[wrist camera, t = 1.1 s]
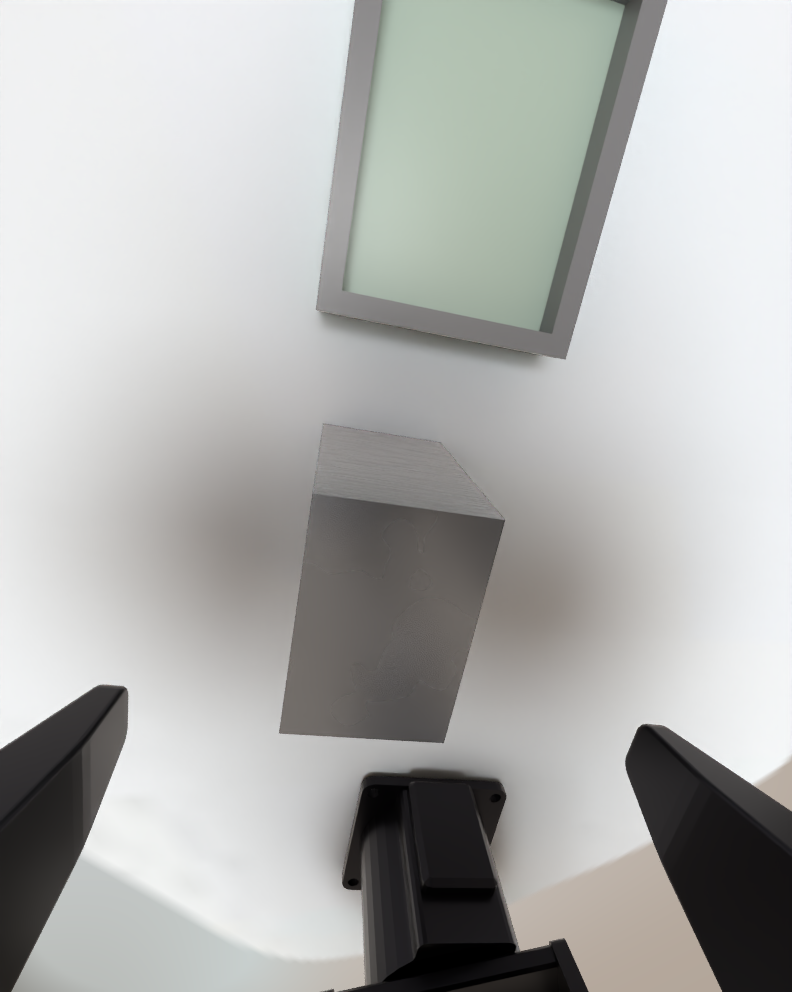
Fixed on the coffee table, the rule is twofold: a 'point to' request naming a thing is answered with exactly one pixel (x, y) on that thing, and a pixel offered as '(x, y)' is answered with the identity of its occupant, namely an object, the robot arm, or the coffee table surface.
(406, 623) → the billet
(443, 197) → the grey green tray
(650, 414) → the coffee table surface
